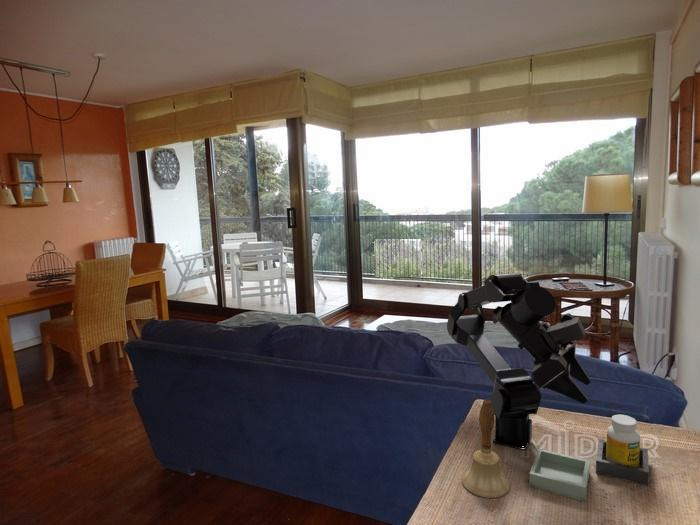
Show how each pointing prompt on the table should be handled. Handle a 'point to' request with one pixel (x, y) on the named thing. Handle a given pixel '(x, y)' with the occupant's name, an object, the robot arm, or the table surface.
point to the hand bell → (486, 462)
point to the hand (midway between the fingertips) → (587, 392)
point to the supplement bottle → (623, 441)
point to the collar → (623, 466)
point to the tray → (560, 474)
